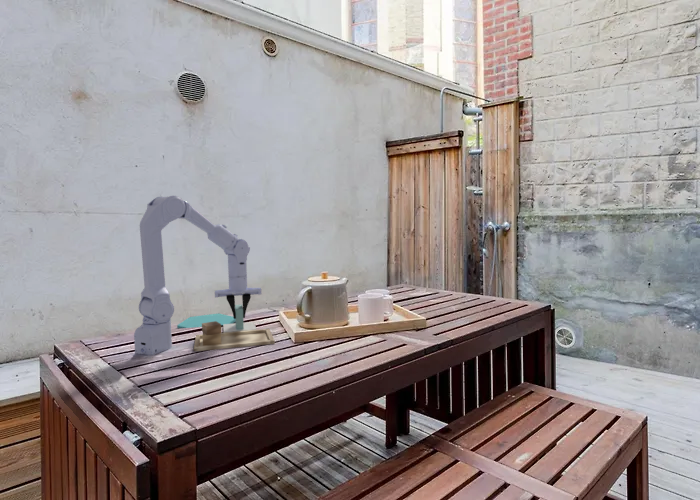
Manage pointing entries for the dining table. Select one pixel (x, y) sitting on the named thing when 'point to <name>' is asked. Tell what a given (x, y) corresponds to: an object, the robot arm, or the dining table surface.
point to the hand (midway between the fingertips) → (239, 317)
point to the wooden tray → (237, 340)
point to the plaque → (206, 320)
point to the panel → (239, 317)
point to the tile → (246, 327)
